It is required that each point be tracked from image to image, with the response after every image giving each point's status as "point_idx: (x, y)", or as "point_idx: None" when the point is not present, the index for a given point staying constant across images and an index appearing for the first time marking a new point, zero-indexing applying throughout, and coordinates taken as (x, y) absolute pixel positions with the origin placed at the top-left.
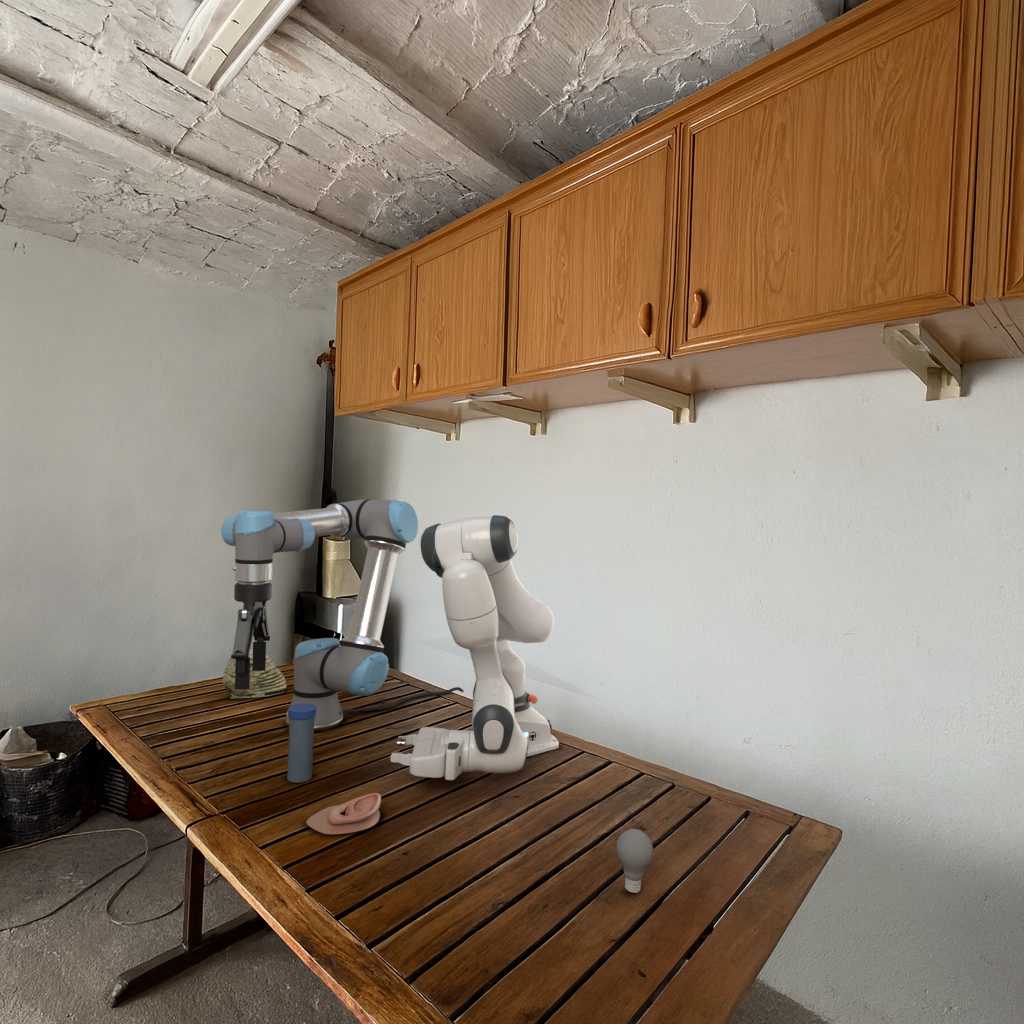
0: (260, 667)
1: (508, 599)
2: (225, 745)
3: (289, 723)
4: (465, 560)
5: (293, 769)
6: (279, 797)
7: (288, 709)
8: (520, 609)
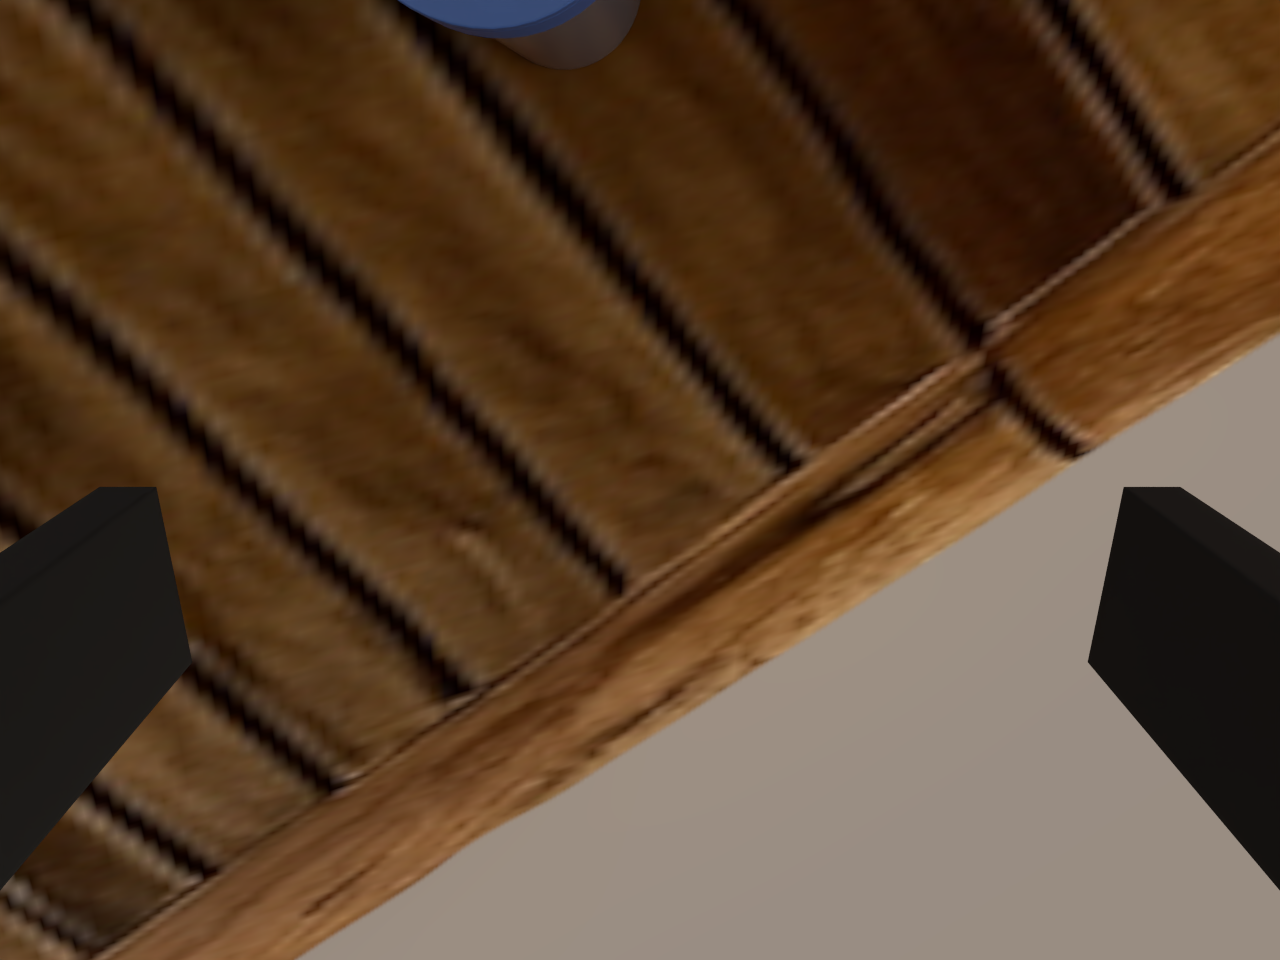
0: (138, 575)
1: None
2: None
3: None
4: None
5: (635, 3)
6: (838, 60)
7: (546, 16)
8: None
